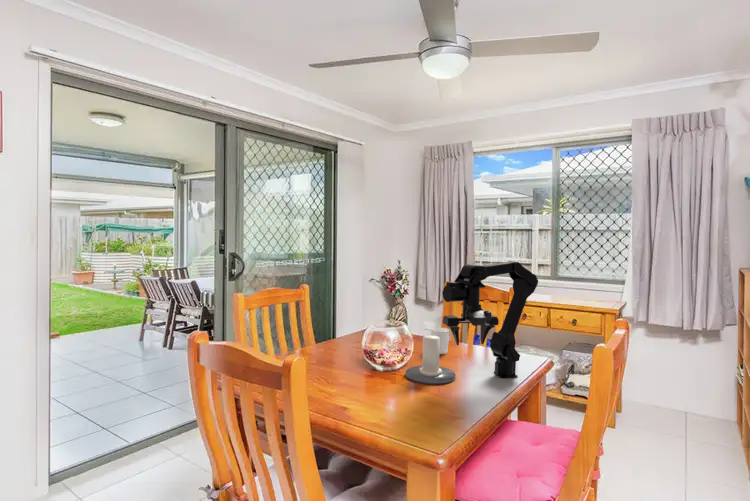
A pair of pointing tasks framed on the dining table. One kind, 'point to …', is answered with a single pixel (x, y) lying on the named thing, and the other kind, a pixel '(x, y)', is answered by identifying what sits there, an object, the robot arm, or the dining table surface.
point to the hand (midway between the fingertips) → (469, 344)
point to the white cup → (441, 338)
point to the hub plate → (444, 378)
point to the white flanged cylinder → (431, 356)
